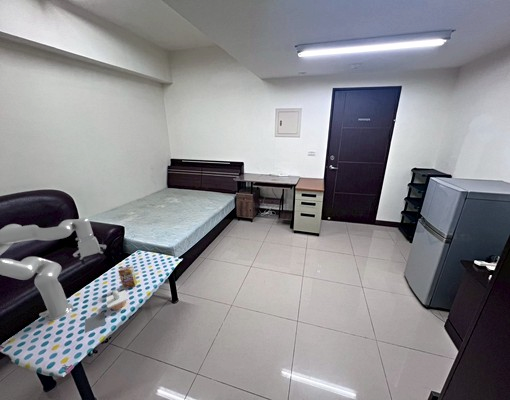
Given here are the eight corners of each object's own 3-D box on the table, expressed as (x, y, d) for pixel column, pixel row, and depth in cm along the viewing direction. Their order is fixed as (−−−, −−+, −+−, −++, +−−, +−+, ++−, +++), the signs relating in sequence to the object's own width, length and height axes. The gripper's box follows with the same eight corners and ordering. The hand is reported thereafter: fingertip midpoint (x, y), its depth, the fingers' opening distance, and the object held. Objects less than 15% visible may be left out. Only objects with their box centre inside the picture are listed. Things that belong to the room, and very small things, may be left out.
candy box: (122, 288, 159) (117, 270, 154) (125, 284, 163) (120, 267, 158) (135, 286, 160) (131, 269, 155) (137, 283, 164) (133, 265, 160)
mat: (85, 334, 123) (84, 333, 123) (85, 320, 133) (85, 319, 133) (105, 324, 129) (105, 323, 129) (104, 312, 138) (104, 311, 138)
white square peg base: (107, 308, 135) (105, 300, 133) (106, 298, 143) (104, 291, 141) (127, 300, 141) (125, 292, 139) (125, 290, 149) (123, 283, 147)
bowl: (111, 312, 138) (110, 306, 136) (110, 304, 144) (108, 298, 143) (127, 305, 143) (125, 299, 141) (125, 298, 149) (123, 292, 148)
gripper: (68, 244, 127) (76, 269, 133) (103, 235, 137) (109, 258, 142) (69, 239, 133) (77, 263, 138) (102, 231, 143) (108, 253, 148)
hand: (93, 261), depth 140 cm, fingers open, 9 cm apart
